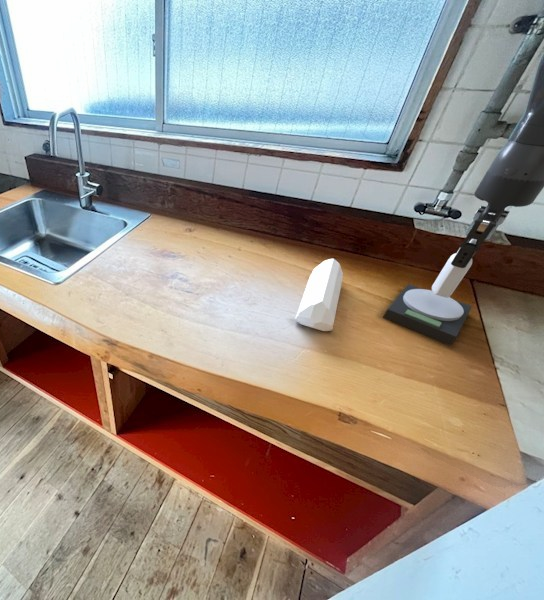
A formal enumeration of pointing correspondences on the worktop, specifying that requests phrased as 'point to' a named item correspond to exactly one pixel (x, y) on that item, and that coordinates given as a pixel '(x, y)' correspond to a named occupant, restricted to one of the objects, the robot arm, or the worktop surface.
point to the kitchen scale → (428, 313)
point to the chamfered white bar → (321, 296)
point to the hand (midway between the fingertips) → (461, 260)
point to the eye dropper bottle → (450, 277)
